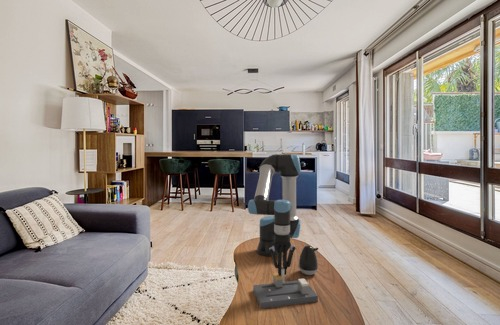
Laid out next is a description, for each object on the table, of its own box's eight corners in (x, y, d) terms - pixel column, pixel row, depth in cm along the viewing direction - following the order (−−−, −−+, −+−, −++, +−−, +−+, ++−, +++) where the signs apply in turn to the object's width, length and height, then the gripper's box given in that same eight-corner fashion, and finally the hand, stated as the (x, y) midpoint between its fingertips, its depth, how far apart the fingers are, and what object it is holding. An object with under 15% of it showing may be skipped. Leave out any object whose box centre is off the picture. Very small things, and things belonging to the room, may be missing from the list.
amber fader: (273, 282, 129) (273, 273, 129) (279, 281, 129) (279, 272, 129) (276, 287, 124) (276, 278, 124) (282, 287, 124) (282, 277, 124)
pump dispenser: (318, 278, 139) (319, 249, 138) (298, 276, 141) (298, 248, 140) (317, 269, 149) (317, 243, 148) (298, 268, 151) (299, 241, 150)
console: (253, 290, 127) (253, 285, 127) (304, 284, 132) (304, 279, 132) (260, 308, 112) (260, 302, 112) (317, 301, 117) (317, 295, 117)
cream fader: (298, 288, 123) (298, 279, 123) (304, 288, 123) (304, 278, 123) (302, 294, 118) (302, 284, 118) (308, 293, 118) (308, 283, 118)
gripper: (271, 236, 121) (271, 286, 122) (298, 234, 124) (297, 283, 125) (266, 231, 128) (266, 279, 129) (292, 229, 131) (292, 276, 132)
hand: (282, 281), depth 127 cm, fingers closed
